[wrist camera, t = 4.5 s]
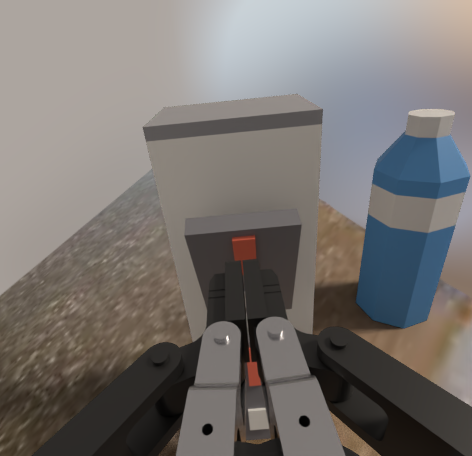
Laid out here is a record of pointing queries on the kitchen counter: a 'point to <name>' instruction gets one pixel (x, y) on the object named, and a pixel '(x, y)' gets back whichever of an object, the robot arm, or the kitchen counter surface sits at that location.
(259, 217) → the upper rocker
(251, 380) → the lower rocker
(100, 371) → the kitchen counter surface
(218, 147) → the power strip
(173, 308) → the kitchen counter surface
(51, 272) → the kitchen counter surface
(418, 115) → the water bottle
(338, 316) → the kitchen counter surface
